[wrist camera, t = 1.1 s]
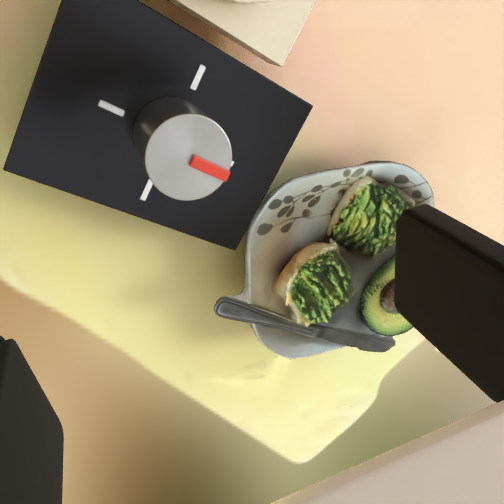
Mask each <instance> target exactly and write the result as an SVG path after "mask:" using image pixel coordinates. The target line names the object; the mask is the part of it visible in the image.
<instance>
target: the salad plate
mask: <svg viewBox="0 0 504 504" xmlns="http://www.w3.org/2000/svg"><path fill="white" fill-rule="evenodd" d="M421 204H428V205H430V206H432V207H434V197H433V192H432V189H431V187H430V186H429V184H428V182H427V181H426V180H425V179H424V178H423V177H422V176H421V175H420V174H419V173H418V172H416V171H415V170H414V169H413V168H411V167H409V166H407V165H404V164H400V163H395V162H390V161H369V162H366V163H363V164H360V165H357V166H351V167H345V168H338V169H333V170H325V171H321V172H316V173H313V174H309V175H306V176H302V177H297V178H293V179H290V180H289V181H287V182H286V183H284V184H282V185H281V186H280V187H278V188H277V189H276V190H274V191H273V192H271V193H270V194H269V195H268V196H267V198H266V199H265V200H264V201H263V202H262V203H261V205H260V206H259V208H258V209H257V211H256V213H255V215H254V217H253V219H252V221H251V222H250V224H249V226H248V229H247V239H246V252H245V267H246V277H245V286H244V289H243V291H242V292H241V293H240V294H238V295H234V296H223V297H221V298H219V300H218V301H217V302H216V304H215V306H214V312H215V314H217V315H218V316H220V317H223V318H227V319H232V320H237V321H242V322H248V323H250V325H251V327H252V329H253V330H254V333H255V335H256V336H257V338H258V340H260V342H261V343H262V344H264V345H265V346H266V347H267V348H268V349H270V350H271V351H273V352H274V353H276V354H278V355H280V356H282V357H285V358H290V359H296V358H301V357H309V356H312V355H316V354H320V353H323V352H327V351H331V350H335V349H338V348H341V347H344V346H350V347H358V348H359V349H360V350H363V351H371V352H386V351H387V350H389V349H390V348H391V347H393V346H395V340H394V339H393V337H392V336H395V335H399V334H403V333H405V332H407V331H408V330H410V329H411V328H413V326H412V325H411V324H410V323H409V322H408V321H407V320H406V319H405V318H404V317H403V316H402V315H401V314H400V313H399V312H398V311H397V309H396V307H395V304H394V277H395V245H396V222H397V219H398V218H399V217H400V216H401V213H402V211H404V210H405V209H408V208H411V207H415V206H418V205H421Z"/></svg>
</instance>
